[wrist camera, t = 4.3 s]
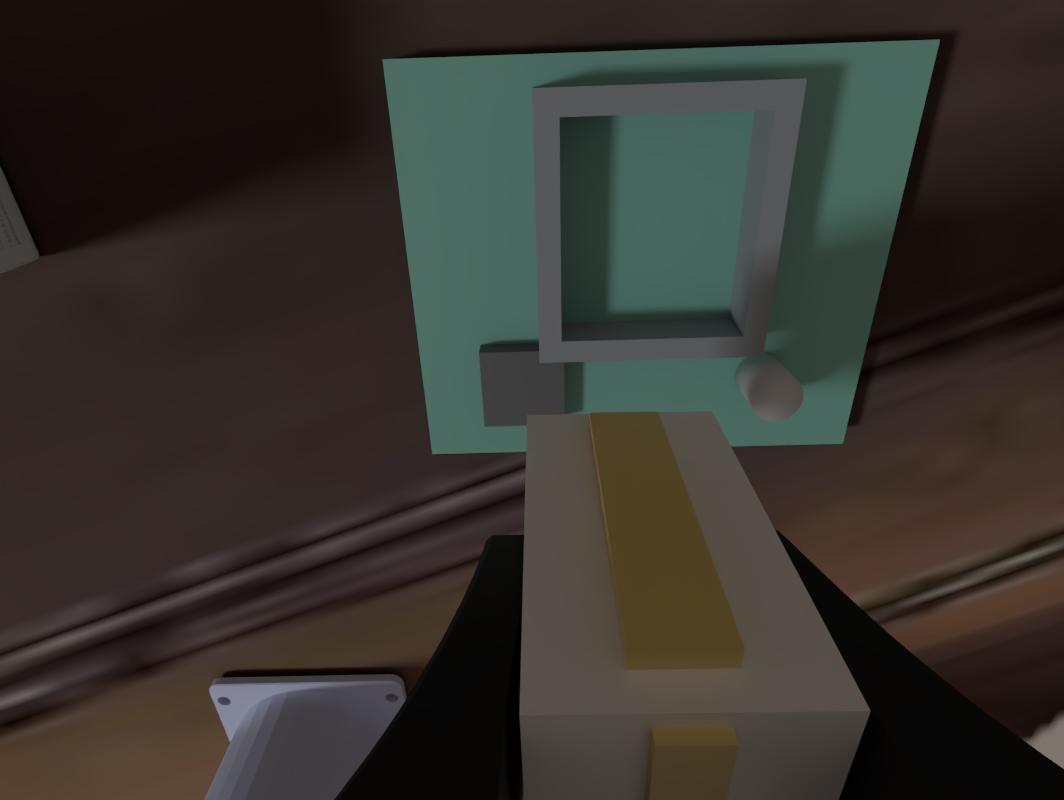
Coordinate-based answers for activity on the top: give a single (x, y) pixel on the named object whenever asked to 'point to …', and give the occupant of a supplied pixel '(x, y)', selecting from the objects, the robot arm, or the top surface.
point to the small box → (13, 232)
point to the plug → (668, 625)
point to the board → (651, 231)
